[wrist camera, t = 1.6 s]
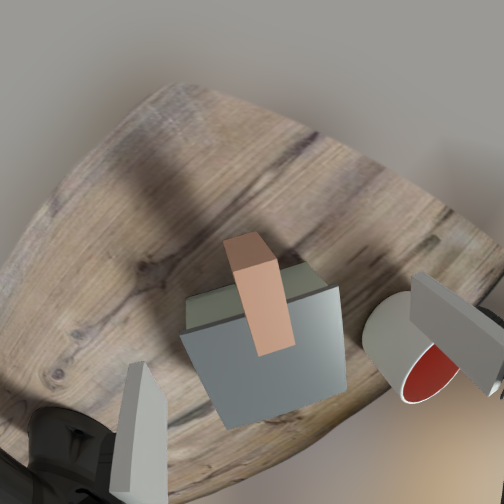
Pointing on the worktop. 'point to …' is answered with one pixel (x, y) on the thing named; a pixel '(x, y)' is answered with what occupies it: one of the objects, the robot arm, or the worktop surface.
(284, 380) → the lid
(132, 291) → the worktop surface
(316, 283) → the tub
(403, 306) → the cup
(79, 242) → the worktop surface
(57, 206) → the worktop surface
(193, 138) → the worktop surface
